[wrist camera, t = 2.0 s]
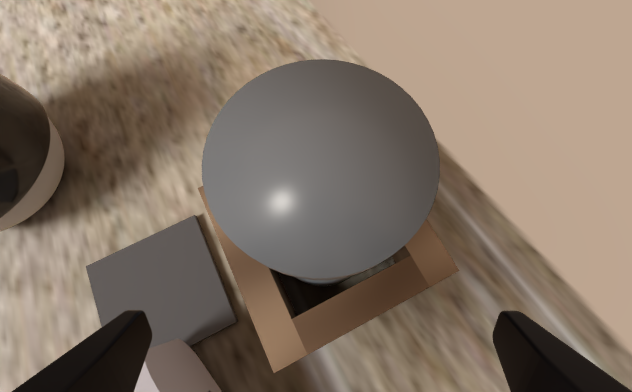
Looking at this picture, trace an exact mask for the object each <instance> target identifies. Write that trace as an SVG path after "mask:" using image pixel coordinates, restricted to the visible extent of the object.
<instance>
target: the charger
mask: <svg viewBox="0 0 632 392" xmlns="http://www.w3.org/2000/svg"><path fill="white" fill-rule="evenodd" d="M134 392H222V391H221V390H220V388H219V387H218V385H217V384H216V382H215V381H214V379H213V378H212V376H211V375H210V373H209V372H208V370H207V369H206V368H205V366H204V365H203V363H202V362H201V360H200V359H199V358H198V356H197V355H196V354H195V352H194V351H193V350H192V349H191V348H190V347H189V346H188V345H187V344H186V343H185V342H184V341H182V340H181V339H175V340H172V341H169V342H166V343H163V344H160V345H158V346H155V347H152V348H149V350H148V353H147V356H146V358H145V361H144V364H143V367H142V370H141V373H140V376H139V378H138V381H137V384H136V387H135V390H134Z"/></svg>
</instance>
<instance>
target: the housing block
mask: <svg viewBox="0 0 632 392" xmlns="http://www.w3.org/2000/svg"><path fill="white" fill-rule="evenodd" d="M198 190H199V192H200V195H201V197H202V199H203V202H204V204H205V207H206V209H207V212H208V214H209V216H210V219H211V221H212V224H213V226H214V229H215V231H216V234H217V236H218V238H219V241H220V243H221V246H222V248H223V251H224V253H225V255H226V258H227V260H228V263H229V265H230V268H231V270H232V273H233V275H234V277H235V280H236V282H237V285H238V287H239V290H240V292H241V295H242V297H243V299H244V302H245V304H246V307H247V309H248V312H249V314H250V316H251V319H252V321H253V324H254V326H255V329H256V331H257V334H258V336H259V338H260V341H261V343H262V346H263V348H264V351H265V353H266V356H267V358H268V360H269V363H270V365H271V368H272V370H273V373H275V372H277V371H279V370H281V369H283V368H284V367H286V366H288V365H290V364H292V363H293V362H295V361H297V360H299V359H301V358H303V357H304V356H306V355H308V354H310V353H312V352H313V351H315V350H317V349H319V348H321V347H322V346H324V345H326V344H328V343H330V342H331V341H333V340H335V339H337V338H339V337H340V336H342V335H344V334H346V333H348V332H349V331H351V330H353V329H355V328H357V327H358V326H360V325H362V324H364V323H366V322H367V321H369V320H371V319H373V318H375V317H376V316H378V315H380V314H382V313H384V312H385V311H387V310H389V309H391V308H393V307H394V306H396V305H398V304H400V303H402V302H403V301H405V300H407V299H409V298H411V297H412V296H414V295H416V294H418V293H420V292H422V291H423V290H425V289H427V288H429V287H431V286H432V285H434V284H436V283H438V282H440V281H441V280H443V279H445V278H447V277H449V276H450V275H452V274H454V273H456V272H458V271H459V269H458V268H457V266H456V265H455V263H454V261H453V260H452V258H451V257H450V255H449V254H448V252H447V251H446V249H445V247H444V246H443V244H442V243H441V241H440V240H439V238H438V236H437V235H436V233H435V232H434V230H433V229H432V227H431V226H430V224H429V222H428V221H427V219H426V220H425V221H424V223H423V224H422V226H421V227H420V229H419V230H418V231H417V233H416V234H415V235H414V236H413V237H412V238H411V239H410V240H409V242H408V243H407V244H405V245H404V246H403V247H402V248H401V249H399V250H398V251H397V252H396V253H395V254H393V255H392V257H393V259H394V261H395V264H393V265H392V266H390V267H388V268H386V269H384V270H382V271H380V272H378V273H377V274H375V275H373V276H371V277H369V278H367V279H365V280H364V281H362V282H360V283H358V284H356V285H354V286H352V287H350V288H349V289H347V290H345V291H343V292H341V293H339V294H337V295H336V296H334V297H332V298H330V299H328V300H326V301H324V302H322V303H321V304H319V305H317V306H315V307H313V308H311V309H309V310H308V311H306V312H304V313H302V314H300V315H298V316H297V313H296V311H295V309H294V307H293V305H292V302H291V300H290V298H289V296H288V294H287V291H286V289H285V287H284V285H283V283H282V280H281V278H280V276H279V274H278V272H277V271H275V270H273V269H270V268H269V267H267V266H265V265H264V264H262V263H260V262H258V261H257V260H255V259H253V258H252V257H250V256H249V255H247V254H246V253H245V252H244V251H242V250H241V249H240V248H238V247H237V246H236V245H235V244H234V243H233V242H232V241H231V240H230V239H229V238H228V236H227V235H226V234H225V233H224V232H223V230H222V229H221V227H220V226H219V224H218V223H217V222H216V220H215V218H214V216H213V214H212V212H211V210H210V208H209V205H208V202H207V199H206V196H205V192H204V186H202V187H200V188H198Z"/></svg>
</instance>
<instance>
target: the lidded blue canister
mask: <svg viewBox="0 0 632 392" xmlns="http://www.w3.org/2000/svg"><path fill="white" fill-rule="evenodd" d="M439 176H440V159H439V152H438V146H437V142H436V139H435V136H434V132H433V130H432V128H431V126H430V124H429V121H428V120H427V118H426V116H425V115H424V113H423V111H422V110H421V108H420V107H419V106H418V104H417V103H416V102H415V101H414V100H413V98H411V96H410V95H409V94H407V93H406V92H405V91H404V90H403V89H402V88H401V87H400V86H398V85H397V84H396V83H394V82H393V81H392V80H390V79H389V78H387V77H385V76H383V75H382V74H380V73H378V72H376V71H373V70H371V69H369V68H366V67H363V66H360V65H357V64H354V63H349V62H344V61H338V60H307V61H299V62H294V63H290V64H286V65H283V66H280V67H277V68H274V69H272V70H270V71H268V72H265V73H263V74H261V75H259V76H258V77H256V78H255V79H253V80H251V81H250V82H248V83H247V84H246V85H244V86H243V87H242V88H241V89H240V90H238V91H237V92H236V93H235V94H234V95H233V96H232V97H231V98H230V99H229V100H228V101H227V103H226V104H225V105H224V107H223V108H222V109H221V111H220V112H219V113H218V115H217V117H216V119H215V120H214V122H213V124H212V126H211V129H210V131H209V134H208V136H207V139H206V143H205V147H204V151H203V159H202V181H203V186H204V192H205V196H206V199H207V202H208V205H209V208H210V210H211V212H212V214H213V216H214V218H215V220H216V222H217V223H218V224H219V226H220V227H221V229H222V230H223V232H224V233H225V234H226V235H227V236H228V238H229V239H230V240H231V241H232V242H233V243H234V244H235V245H236V246H237V247H238V248H240V249H241V250H242V251H244V252H245V253H246V254H247V255H249V256H250V257H252V258H253V259H255V260H257V261H258V262H260V263H262V264H264V265H265V266H267V267H269V268H270V269H273V270H275V271H278V272H280V273H282V274H285V275H289V276H293V277H296V278H297V279H299V280H300V281H302V282H304V283H307V284H310V285H313V286H332V285H335V284H339V283H341V282H343V281H345V280H346V279H348V278H349V277H351V276H352V275H355V274H359V273H361V272H364V271H366V270H368V269H370V268H373V267H375V266H376V265H378V264H379V263H381V262H383V261H384V260H386V259H387V258H389V257H390V256H392V255H393V254H395V253H396V252H397V251H398V250H399V249H401V248H402V247H403V246H404V245H405V244H407V243H408V242H409V240H410V239H411V238H412V237H413V236H414V235H415V234H416V233H417V231H418V230H419V229H420V227H421V226H422V224H423V223H424V221H425V220H426V218H427V216H428V214H429V212H430V210H431V208H432V205H433V203H434V200H435V196H436V193H437V190H438V183H439Z"/></svg>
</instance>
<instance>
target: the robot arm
mask: <svg viewBox="0 0 632 392" xmlns="http://www.w3.org/2000/svg"><path fill="white" fill-rule="evenodd" d="M151 341H152V330H151V327H150V324H149V322H148V319H147V316H146V314H145V312H144V311H143V310H127V311H124V312H123V313H121V314H120V315H118V316H117V317H116V318H114V319H113V320H111V321H110V322H109V323H107V324H106V325H104V326H103V327H102V328H100V329H99V330H97V331H96V332H95V333H93V334H92V335H90V336H89V337H88V338H86V339H85V340H83V341H82V342H81V343H79V344H78V345H76V346H75V347H74V348H72V349H71V350H69V351H68V352H67V353H65V354H64V355H62V356H61V357H60V358H58V359H57V360H55V361H54V362H53V363H51V364H50V365H48V366H47V367H46V368H44V369H43V370H41V371H40V372H39V373H37V374H36V375H34V376H33V377H32V378H30V379H29V380H27V381H26V382H25V383H23V384H22V385H20V386H19V387H18V388H16V389H15V390H13V391H12V392H134V390H135V387H136V384H137V381H138V378H139V376H140V373H141V370H142V367H143V364H144V361H145V358H146V356H147V353H148V350H149V347H150V344H151ZM493 343H494V346H495V349H496V351H497V354H498V357H499V360H500V363H501V366H502V368H503V371H504V374H505V377H506V380H507V383H508V385H509V388H510V391H511V392H632V391H631V390H629V389H628V388H627V387H625V386H624V385H622V384H621V383H620V382H618V381H617V380H615V379H614V378H613V377H611V376H610V375H608V374H607V373H606V372H604V371H603V370H601V369H600V368H599V367H597V366H596V365H594V364H593V363H592V362H590V361H589V360H587V359H586V358H585V357H583V356H582V355H580V354H579V353H578V352H576V351H575V350H573V349H572V348H571V347H569V346H568V345H566V344H565V343H564V342H562V341H561V340H559V339H558V338H557V337H555V336H554V335H552V334H551V333H550V332H548V331H547V330H545V329H544V328H543V327H541V326H540V325H538V324H537V323H536V322H534V321H533V320H531V319H530V318H529V317H527V316H526V315H524V314H523V313H521V312H519V311H502V312H501V313H500V314H499V316H498V319H497V322H496V325H495V328H494V331H493Z"/></svg>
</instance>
